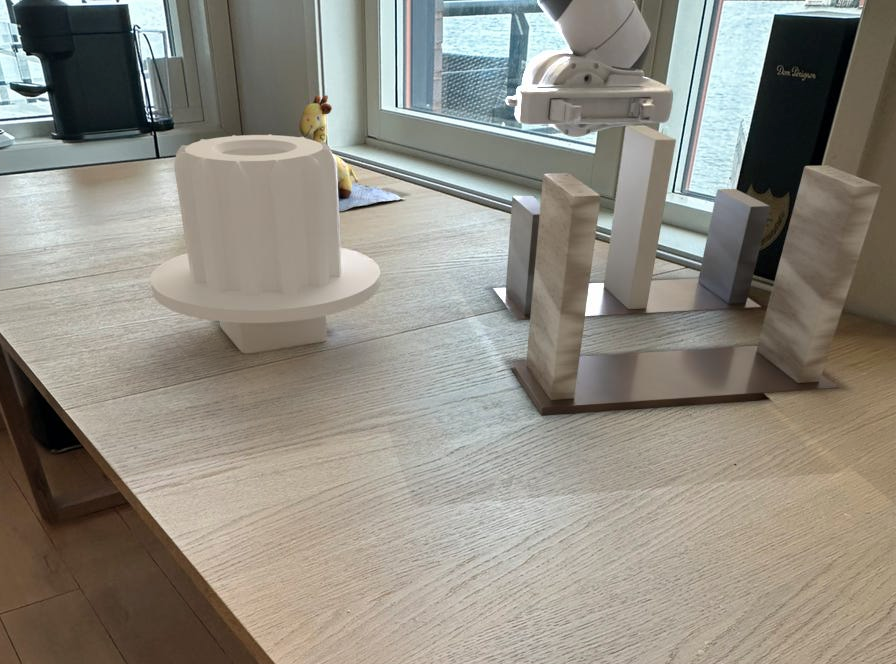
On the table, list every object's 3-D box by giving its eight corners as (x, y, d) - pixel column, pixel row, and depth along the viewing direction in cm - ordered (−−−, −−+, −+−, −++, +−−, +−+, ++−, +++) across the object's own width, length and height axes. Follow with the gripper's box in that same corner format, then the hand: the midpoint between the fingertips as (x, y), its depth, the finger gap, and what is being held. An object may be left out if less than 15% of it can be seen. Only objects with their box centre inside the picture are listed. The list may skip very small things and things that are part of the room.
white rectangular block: (620, 285, 111) (645, 125, 99) (646, 308, 104) (676, 139, 93) (603, 286, 111) (625, 125, 99) (628, 309, 104) (655, 139, 92)
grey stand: (717, 283, 115) (739, 185, 107) (760, 313, 105) (787, 208, 98) (492, 294, 110) (498, 193, 103) (516, 326, 101) (525, 218, 94)
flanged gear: (192, 392, 86) (157, 183, 74) (141, 315, 103) (106, 135, 91) (417, 354, 94) (419, 160, 82) (334, 288, 112) (326, 120, 100)
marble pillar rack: (778, 351, 96) (831, 161, 84) (836, 394, 87) (905, 189, 75) (509, 367, 91) (525, 170, 80) (541, 415, 82) (564, 201, 70)
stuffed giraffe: (268, 196, 150) (263, 89, 140) (350, 186, 160) (351, 85, 149) (321, 218, 141) (319, 105, 131) (405, 205, 151) (410, 99, 140)
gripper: (504, 70, 112) (533, 84, 102) (651, 69, 115) (694, 83, 105) (500, 125, 116) (528, 145, 106) (643, 123, 119) (683, 142, 109)
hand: (612, 114), depth 105 cm, fingers open, 8 cm apart
